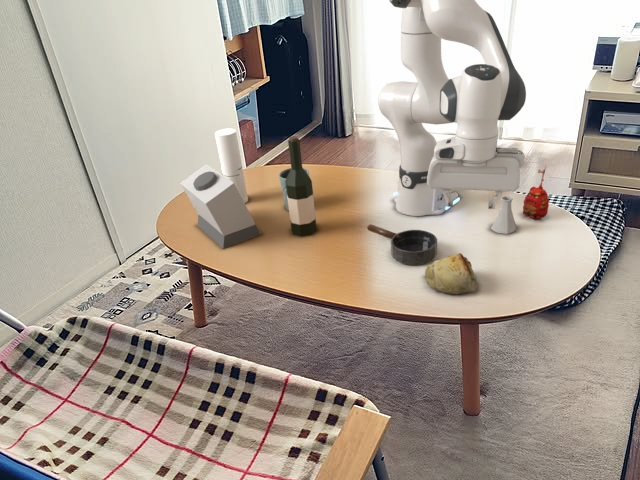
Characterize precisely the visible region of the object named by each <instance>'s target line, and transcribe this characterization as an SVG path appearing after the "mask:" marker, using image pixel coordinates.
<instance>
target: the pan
mask: <svg viewBox="0 0 640 480" xmlns="http://www.w3.org/2000/svg"><path fill="white" fill-rule="evenodd" d="M397 235H399V236H400V238H399V240H397V241H396V236H397ZM390 255H391V257H392V259H393V260H394V261H396V262H398V263H401V264H403V265H407V266H420V265H425V264H428V263H430V262H431V261H433V260H435V258H436V257H437V255H438V237H437V236H436V235H435V234H433V233H432V232H430V231H426V230H422V229H407V230H402V231H399V232H396V235H394V236H393V237H392V239H390Z"/></svg>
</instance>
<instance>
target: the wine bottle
mask: <svg viewBox="0 0 640 480" xmlns="http://www.w3.org/2000/svg"><path fill="white" fill-rule="evenodd" d="M288 138H289V139H288V140H287V143H288V144H287V145H288V153H289V161H290V168H291V170H290V172H289V174H288V176H287V178H286V180H285V184H286V192H287V199H288V207H289V210H288V211H289V212H288V214H289V221H290V222H289V223H290V229H291V233H292V235H293V236H296V237H301V238H302V237H306V236H312V235H313V234H315V233H316V232H317V231H318V229H317V219H316V208H315V200H314V199H315V198H314V189H313V181H312V178H311V177H310V174H309V175H308V174H307V173H306V171H305V170H304V169H303V168H304V167H303V162H302V152H301V142H300V139H299V138H298V136H296V135H291V136H289V137H288Z"/></svg>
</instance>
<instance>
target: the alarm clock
mask: <svg viewBox="0 0 640 480" xmlns="http://www.w3.org/2000/svg"><path fill="white" fill-rule="evenodd" d="M179 185H180V186H181V188H182V190H183V192H184V193H185V195H186V196H187V198H188V199H189V201H190V203H191V205H192V206H193V208H194V209H195V212H196V213H197V217H198V218H197V227H198V228H199V229H200V230H201V231H202V232H204V233H205V234H206V235H207V236H208V237H209V238H210V239H212V241H214V242H215V243H216V244H217V245H219V247H220V248H222V249H226V248H229V247H232V246H234V245H236V244H239V243H242V242H244V241H247V240H250V239H252V238H255V237H257V236H260V235H262V234H261V232H260V229H259V227H258V226H257V224H256V222H255V220H254V218H253V216H252V214H251V212H250V211H249V209H248V206H247V205H246V203H244V201H243V199H242V197H241V195H240V194H239V192H238V190H237V188H236V186H235V184H234V183H233V182H232V181H230V180H229V179H227V178H226V177H224V176H223V173H220V171H219V172H218V171H217V170H216V169H214V168H213V167H211V166H209V165H208V164H207V163H206V164H204V165H203V166H202V167H200V168H199V169H197V170H196V171H195V172H194V173H192V174H190V175H189V176H188V177H186V178H185V179H184V180H182V181H181V182H180V183H179Z"/></svg>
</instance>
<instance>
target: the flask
mask: <svg viewBox="0 0 640 480" xmlns="http://www.w3.org/2000/svg"><path fill="white" fill-rule="evenodd" d="M500 198H501V199H500V201H501V205H500V208H499V211H498V214H497V216H496V218H495V219H494V222H493V223H492V224H491V228H490V230H492V231H493V232H495V233H498V234H503V235H504V234H505V235H508V234H511V233H514V232H515V231H516V230H517V224H516V220H515V217H514V213H513V210H512V202H513V200H514V197H512V196H511V195H503V196H501V197H500Z"/></svg>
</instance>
